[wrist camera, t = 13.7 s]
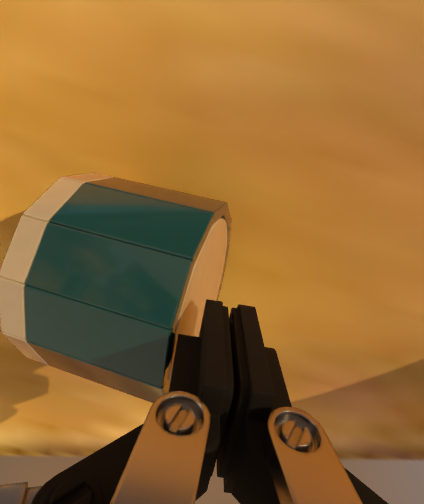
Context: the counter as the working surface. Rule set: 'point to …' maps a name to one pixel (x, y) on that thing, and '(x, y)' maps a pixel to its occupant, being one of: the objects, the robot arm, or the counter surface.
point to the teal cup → (112, 278)
